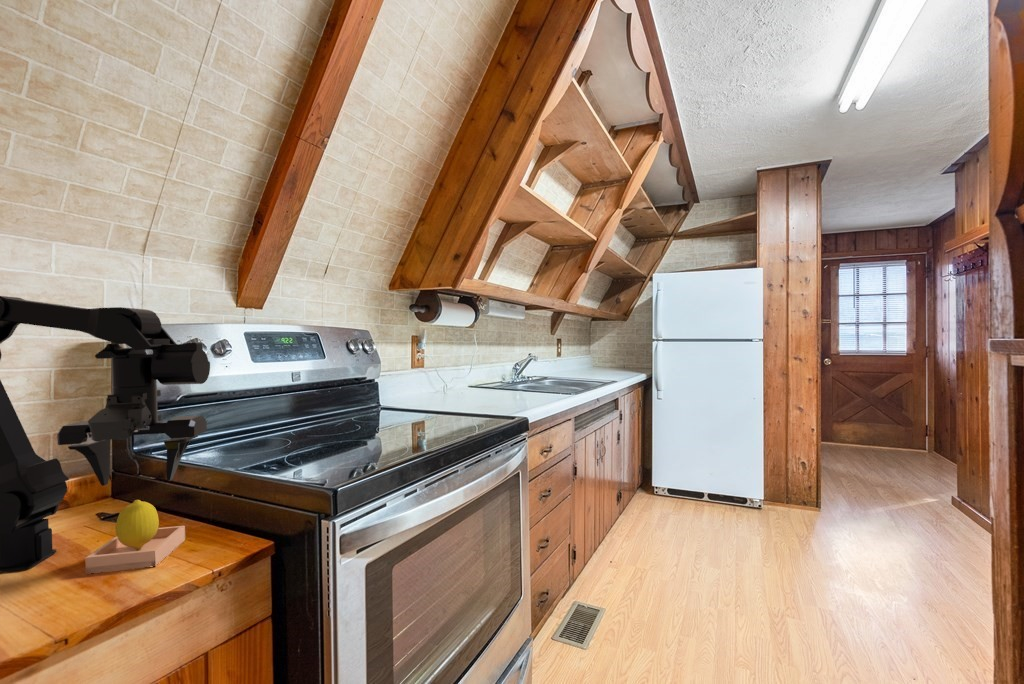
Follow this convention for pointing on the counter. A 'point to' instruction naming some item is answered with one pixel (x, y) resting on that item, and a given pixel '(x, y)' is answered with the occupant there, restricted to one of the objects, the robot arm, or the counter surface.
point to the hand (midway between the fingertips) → (137, 482)
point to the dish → (135, 552)
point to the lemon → (137, 524)
